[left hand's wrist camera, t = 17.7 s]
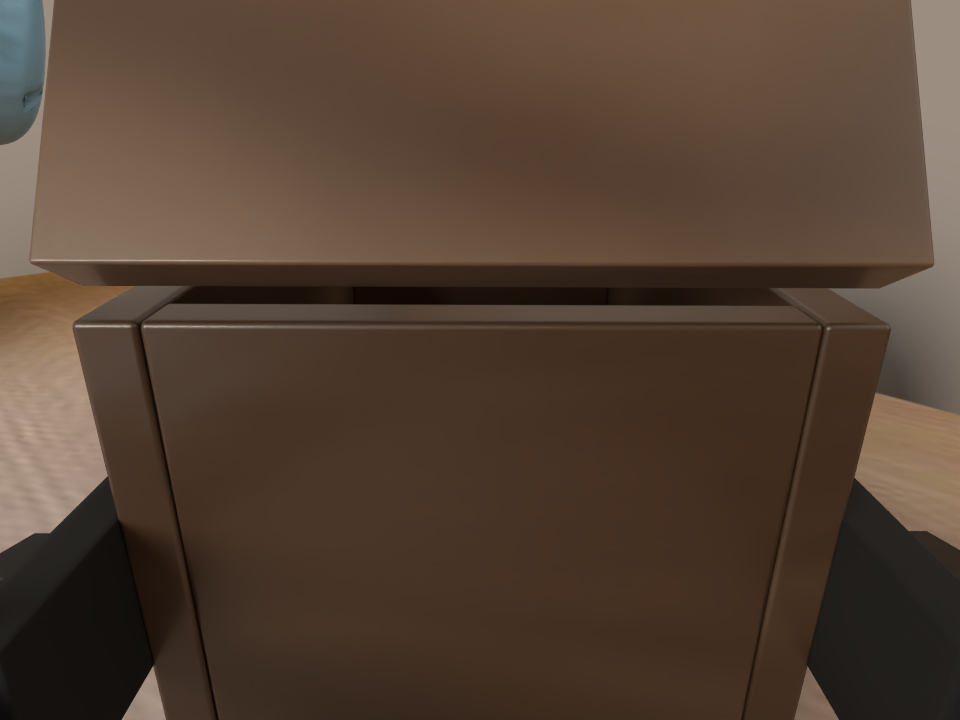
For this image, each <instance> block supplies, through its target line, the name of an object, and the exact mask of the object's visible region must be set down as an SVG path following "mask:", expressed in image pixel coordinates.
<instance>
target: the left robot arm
mask: <svg viewBox="0 0 960 720" xmlns="http://www.w3.org/2000/svg"><path fill="white" fill-rule="evenodd" d="M807 666H808V667H809V669H810V671H811V672H812V674H813V676H814V677H815V679H816V681H817V683H818V684H819V686H820V688H821V689H822V691H823V693H824V695H825V696H826V698H827V700H828V701H829V703H830V705H831V706H832V708H833V710H834V712H835V713H836V715H837V717H838V718H839V720H960V550H958V549H957V548H955V547H953V546H951V545H950V544H948V543H946V542H944V541H943V540H941V539H939V538H938V537H936V536H934V535H932V534H931V533H929V532H927V531H908V530H907V529H906V528H905V527H904V526H903V525H902V524H901V523H900V522H899V521H898V520H897V519H896V518H895V517H894V516H893V515H892V514H891V513H890V512H889V511H888V510H887V509H886V508H885V507H883V506H882V505H881V504H880V503H879V502H878V501H877V500H876V499H875V498H874V497H873V496H872V495H871V494H870V493H869V492H868V491H867V490H866V489H865V488H864V487H863V486H862V485H861V484H860V483H859V482H858V481H857V480H856V479H855V478H854V480H853V484H852V488H851V492H850V496H849V500H848V504H847V508H846V512H845V516H844V520H843V524H842V528H841V532H840V536H839V540H838V544H837V548H836V552H835V556H834V560H833V564H832V568H831V572H830V577H829V581H828V585H827V589H826V593H825V597H824V601H823V605H822V609H821V613H820V617H819V621H818V625H817V629H816V633H815V637H814V641H813V645H812V649H811V653H810V657H809V661H808V665H807ZM152 667H153V662H152V657H151V653H150V649H149V645H148V641H147V637H146V633H145V629H144V624H143V620H142V616H141V612H140V608H139V604H138V599H137V595H136V591H135V587H134V583H133V579H132V574H131V570H130V566H129V562H128V558H127V554H126V549H125V545H124V541H123V537H122V533H121V528H120V524H119V520H118V516H117V512H116V508H115V503H114V499H113V495H112V491H111V487H110V482H109V478H108V477H107V478H106V479H105V480H104V481H103V482H102V483H101V484H100V485H98V486H97V487H96V488H95V489H94V490H93V491H92V492H91V493H90V494H89V495H88V496H87V497H86V498H85V499H84V500H83V501H82V502H81V503H80V504H79V505H78V506H77V507H76V508H75V509H74V510H73V511H72V512H71V513H70V514H69V515H68V516H67V517H66V518H65V519H64V520H63V521H62V522H61V523H60V524H59V525H58V526H57V527H56V528H55V529H54V530H53V531H52V532H51V533H35V534H33V535H31V536H29V537H28V538H26V539H24V540H22V541H21V542H19V543H17V544H16V545H14V546H12V547H10V548H9V549H7V550H5V551H4V552H2V553H0V720H122V718H123V716H124V715H125V713H126V711H127V709H128V708H129V706H130V704H131V703H132V701H133V699H134V697H135V696H136V694H137V692H138V691H139V689H140V687H141V686H142V684H143V682H144V680H145V679H146V677H147V675H148V674H149V672H150V670H151V668H152Z"/></svg>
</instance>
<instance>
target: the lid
mask: <svg viewBox="0 0 960 720" xmlns="http://www.w3.org/2000/svg"><path fill="white" fill-rule="evenodd" d="M30 263H31V264H33V265H36V266H38V267H40V268H43V269H45V270H48V271H50V272H52V273H55V274H57V275H60V276H62V277H64V278H67V279H69V280H72V281H74V282H76V283H79V284H81V285H83V286H324V287H611V288H881V287H884V286H886V285H889V284H891V283H894V282H896V281H899V280H901V279H904V278H906V277H909V276H911V275H913V274H916V273H918V272H921V271H923V270H926V269H928V268H930V267H933V265H934V255H933V244H932V233H931V222H930V210H929V200H928V188H927V177H926V166H925V155H924V144H923V132H922V121H921V110H920V99H919V88H918V76H917V66H916V54H915V43H914V32H913V21H912V9H911V0H54V9H53V19H52V29H51V40H50V50H49V61H48V71H47V82H46V92H45V103H44V113H43V124H42V134H41V144H40V155H39V165H38V175H37V186H36V196H35V207H34V217H33V228H32V238H31V249H30Z"/></svg>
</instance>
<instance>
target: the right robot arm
mask: <svg viewBox="0 0 960 720" xmlns="http://www.w3.org/2000/svg"><path fill="white" fill-rule="evenodd" d="M45 55H46V47H45V21H44V11H43V2H42V0H0V145H4V144H8V143H11V142H14V141H16V140H18V139H19V138H21V137H22V136H24V135H25V134H26V133H27V132H28V131H29V129H30V128H31V126H32V125H33V123H34V121H35V119H36V116H37V114H38V111H39V107H40V104H41V98H42V92H43V85H44V76H45Z"/></svg>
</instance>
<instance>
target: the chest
mask: <svg viewBox="0 0 960 720" xmlns="http://www.w3.org/2000/svg"><path fill="white" fill-rule="evenodd" d="M890 331H891V329H890V325H889V324H888V323H886V322H884V321H882V320H881V319H879V318H877V317H876V316H874V315H872V314H871V313H869V312H867V311H865V310H864V309H862V308H860V307H859V306H857V305H855V304H853V303H852V302H850V301H848V300H847V299H845V298H843V297H842V296H840V295H838V294H836V293H835V292H833V291H831V290H830V289H828V288H611V287H324V286H134V287H133V288H131V289H129V290H128V291H126V292H124V293H122V294H121V295H119V296H117V297H116V298H114V299H112V300H110V301H109V302H107V303H105V304H104V305H102V306H100V307H98V308H97V309H95V310H93V311H92V312H90V313H88V314H86V315H85V316H83V317H81V318H79V319H78V320H76V321H74V323H73V332H74V336H75V340H76V345H77V349H78V353H79V357H80V361H81V365H82V370H83V374H84V378H85V382H86V386H87V391H88V395H89V399H90V403H91V407H92V411H93V416H94V420H95V424H96V428H97V432H98V437H99V441H100V445H101V449H102V453H103V457H104V462H105V466H106V470H107V474H108V478H109V482H110V487H111V491H112V495H113V499H114V503H115V508H116V512H117V516H118V520H119V524H120V528H121V533H122V537H123V541H124V545H125V549H126V554H127V558H128V562H129V566H130V570H131V574H132V579H133V583H134V587H135V591H136V595H137V599H138V604H139V608H140V612H141V616H142V620H143V624H144V629H145V633H146V637H147V641H148V645H149V649H150V653H151V657H152V662H153V666H154V670H155V675H156V679H157V683H158V687H159V691H160V696H161V700H162V704H163V708H164V712H165V716H166V720H794V717H795V713H796V709H797V705H798V701H799V697H800V693H801V689H802V685H803V681H804V677H805V673H806V669H807V665H808V661H809V657H810V653H811V649H812V645H813V641H814V637H815V633H816V629H817V625H818V621H819V617H820V613H821V609H822V605H823V601H824V597H825V593H826V589H827V585H828V581H829V577H830V572H831V568H832V564H833V560H834V556H835V552H836V548H837V544H838V540H839V536H840V532H841V528H842V524H843V520H844V516H845V512H846V508H847V504H848V500H849V496H850V492H851V488H852V484H853V480H854V476H855V472H856V468H857V464H858V460H859V456H860V452H861V448H862V444H863V440H864V436H865V432H866V428H867V424H868V420H869V416H870V412H871V408H872V404H873V400H874V396H875V392H876V387H877V384H878V380H879V375H880V371H881V367H882V363H883V359H884V355H885V351H886V347H887V343H888V339H889V335H890Z"/></svg>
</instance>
